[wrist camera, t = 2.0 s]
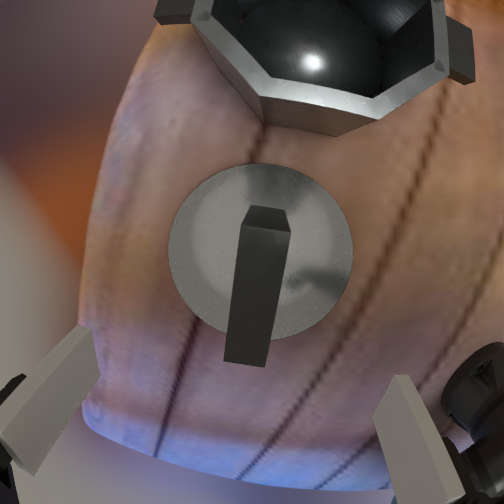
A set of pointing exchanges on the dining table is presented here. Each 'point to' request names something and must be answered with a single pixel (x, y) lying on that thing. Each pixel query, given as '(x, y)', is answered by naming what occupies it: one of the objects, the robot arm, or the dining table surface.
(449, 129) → the dining table surface
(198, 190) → the lid
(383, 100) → the pot
